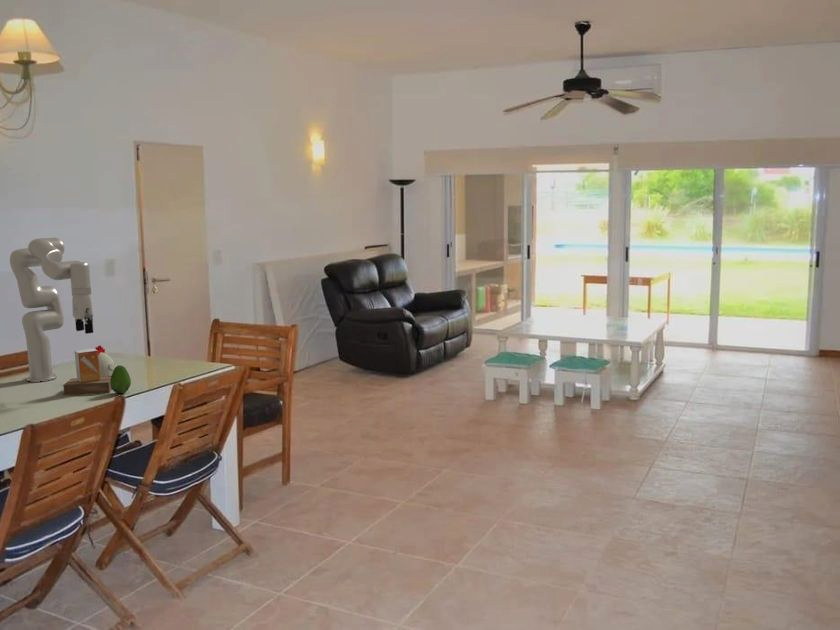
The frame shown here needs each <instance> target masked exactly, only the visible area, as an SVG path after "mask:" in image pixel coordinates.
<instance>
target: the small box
mask: <svg viewBox="0 0 840 630" xmlns="http://www.w3.org/2000/svg"><path fill="white" fill-rule="evenodd" d="M74 360H75V361H74V362H75V371H76V378H77V380H78V381H79V382H81V383H83V382H89V381H96V380H100V371H99V360H98V350H96V349H95V348H86V349H80V350H79V349H78V350H74Z"/></svg>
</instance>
